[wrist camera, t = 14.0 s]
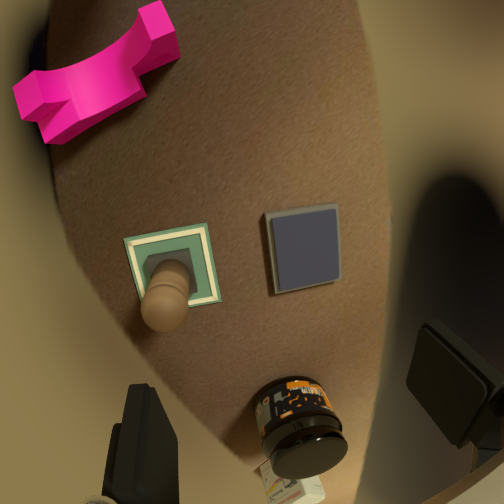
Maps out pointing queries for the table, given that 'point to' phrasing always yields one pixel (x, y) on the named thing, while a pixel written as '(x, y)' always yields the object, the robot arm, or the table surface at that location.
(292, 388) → the supplement container
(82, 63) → the toy block
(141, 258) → the mat
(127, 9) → the table surface
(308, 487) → the ink box
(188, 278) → the stamp
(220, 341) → the table surface
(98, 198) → the table surface
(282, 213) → the ink pad
